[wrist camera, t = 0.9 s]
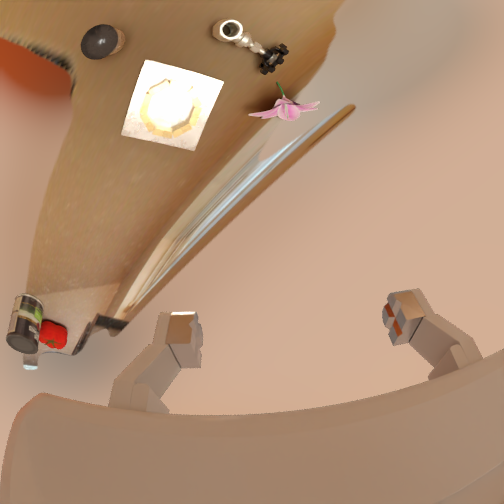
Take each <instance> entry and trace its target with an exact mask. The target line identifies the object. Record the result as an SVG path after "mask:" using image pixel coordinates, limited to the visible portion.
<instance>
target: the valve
mask: <svg viewBox="0 0 504 504" xmlns="http://www.w3.org/2000/svg"><path fill="white" fill-rule="evenodd" d="M224 25H227V26H228V27H229V28H230V33H229V35H228V36H226V35H225V34H224V33H223V27H224ZM242 30H243V25H242V24H241V23H239V22H237V21H236V20H234V19H223V20H220V21H218V22H217V23H216V24H215V25H214V26H213V33H212V36H214V37H216V38H217V39H218V40H220V41H222V42H230V41H233V42H234V43H235V45H236V46H238V47H239V48H242V47H243V46H244V47H247V46H248V47H249V50H251V51H253V52H254V53H257V52H258V53H260V57H261V58H263V59H262V63H263V64H262V63H261V64H260V65H259V68H261V70H260V72H261V73H262V74H264V75H266V74H267V73H268V71H269V72H271V73H273V72H274V71H275V66H276V65H277V64H280V65H281V64H282V63H283V62H284V59H282V58H283V56H284V55H287V54H288V52H289V51H288V50H287V49H286V48H287V46H285V45H284V44H280V45H279V46H280V47H281V48H280V49H279V48H277V47H276V46H275V47H273V48H271V49H270V50H269V49H267V48H266V49H265V50H264V49H262V45H260V44H259V43H257V42H252V39H251V38H250V37H251V34H249V33H248V32H242ZM278 53H279V55H278V56H277V55H276V54H278ZM269 63H272V64H270V65H269ZM262 69H263V70H262Z"/></svg>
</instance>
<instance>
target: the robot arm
mask: <svg viewBox="0 0 504 504" xmlns="http://www.w3.org/2000/svg"><path fill="white" fill-rule="evenodd" d="M387 300H388V303H387V304H386V305H385V306H384V308H383V311H382V318H383V323H384V325H385V327H387V328H388V329H389V334H388V335H389V337H390V339H391V342H392V344H393V346H395V345H399V344H405V343H409V344H410V345H411V346H412V347H413V348H414V349H415V350H416V351H417V352H418V353H419V354H420V355H421V356H422V357H423V358H425V359H426V360H427V361H428V362H429V363H430V364H431V365H432V366H433V367H434V369H433V370H432V371H431V373H430V374H429V376H428V379H429V381H426V382H423V383H420V384H417V385H414V386H410V387H407V388H404V389H400V390H397V391H393V392H389V393H386V394H382V395H378V396H374V397H370V398H365V399H361V400H356V401H351V402H347V403H341V404H336V405H330V406H325V407H318V408H311V409H304V410H296V411H287V412H277V413H265V414H248V415H181V414H169V409H168V408H167V407H166V406H165V404H164V403H163V402H162V401H161V400H160V398H161V397H162V395H163V394H164V393H165V391H166V390H167V389H168V387H169V386H170V384H171V383H172V382H173V380H174V379H175V377H176V376H177V375H178V373H179V372H180V371H181V368H201V357H202V354H201V351H200V348H201V347H202V345H203V333H202V327H201V324H199V323H198V315H197V312H161V313H160V315H159V316H158V321H157V325H156V329H155V334H154V338H153V343H152V344H149V345H148V346H147V347H146V348H145V349H144V350H143V351H142V352H141V353H140V354H139V355H138V356H137V357H136V358H135V359H134V360H133V361H132V362H131V363H130V364H129V365H128V366H127V367H126V368H125V369H124V370H123V371H122V372H121V374H119V375H118V377H117V378H116V379H115V380H114V383H113V387H112V391H111V396H110V400H109V405H108V407H106V406H101V405H95V404H90V403H85V402H80V401H76V400H71V399H67V398H63V397H59V396H55V395H52V394H48V393H39V394H38V395H36V396H35V397H33V398H32V399H31V400H30V401H29V402H28V403H26V404H25V406H23V407H22V408H21V409H20V410H19V412H18V413H17V415H16V417H15V419H14V422H13V424H12V427H11V431H10V434H9V437H8V441H7V446H6V450H5V455H4V460H3V465H2V473H1V482H0V504H504V349H502V350H500V351H498V352H496V353H494V354H492V355H490V356H488V357H486V358H484V359H483V357H482V355H481V353H480V351H479V350H478V347H477V346H476V344H475V342H474V340H473V338H472V337H470V336H469V335H468V334H466V333H465V332H463V331H462V330H460V329H459V328H457V327H456V326H454V325H453V324H451V323H450V322H449V321H447V320H446V319H444V318H443V317H441V316H440V315H438V314H435V313H434V312H433V310H432V308H431V306H430V305H429V303H428V301H427V299H426V298H425V296H424V294H423V293H422V291H421V290H420V289H412V290H405V291H399V292H394V293H390V294H389V295H388V297H387Z"/></svg>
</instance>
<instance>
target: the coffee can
mask: <svg viewBox="0 0 504 504" xmlns="http://www.w3.org/2000/svg"><path fill="white" fill-rule="evenodd" d="M43 311H44V306H43V304H42V303H41V301H40V300H39V299H37V298H36V297H34V296H32V295H29V294H19V295H17V297H16V299H15V303H14V307H13V311H12V315H11V320H10V324H9V329H8V334H7V337H6V341H7V343H8V344H9V345H10V346H11V347H12V348H13V349H15V350H17V351H19V352H21V353H25V354H35V353H36V352H37V351H38V342H39V334H40V327H41V321H42V315H43Z"/></svg>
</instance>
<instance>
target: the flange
mask: <svg viewBox="0 0 504 504" xmlns="http://www.w3.org/2000/svg"><path fill="white" fill-rule="evenodd" d="M223 83H224V82H223V81H221V80H218V79H215V78H212V77H209V76H206V75H202V74H199V73H196V72H193V71H189V70H186V69H182V68H179V67H175V66H171V65H167V64H163V63H159V62H155V61H150V60H145V62H144V65H143V68H142V70H141V73H140V76H139V78H138V81H137V84H136V87H135V90H134V93H133V96H132V99H131V102H130V105H129V109H128V112H127V115H126V119H125V122H124V126H123V130H122V133H121V135H123V136H128V137H133V138H138V139H143V140H148V141H153V142H158V143H162V144H167V145H171V146H175V147H180V148H184V149H188V150H192V151H194V150H195V148H196V145H197V143H198V140H199V138H200V135H201V133H202V130H203V128H204V126H205V123H206V121H207V119H208V116H209V114H210V112H211V109H212V107H213V105H214V102H215V100H216V98H217V96H218V94H219V91H220V89H221V87H222V85H223Z"/></svg>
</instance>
